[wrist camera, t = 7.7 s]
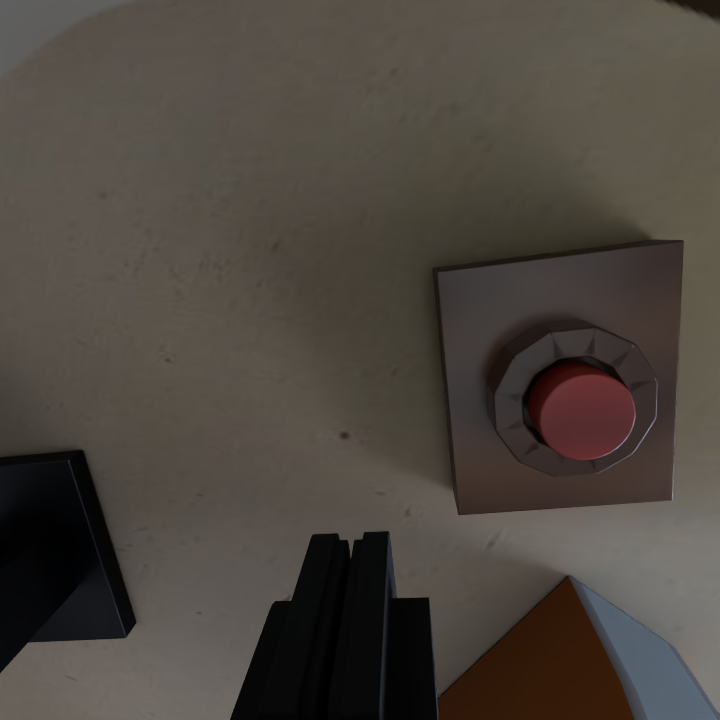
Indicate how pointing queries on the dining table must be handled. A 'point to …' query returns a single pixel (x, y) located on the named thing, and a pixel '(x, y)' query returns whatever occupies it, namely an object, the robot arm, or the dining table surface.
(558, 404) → the stop button
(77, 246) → the dining table surface
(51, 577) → the switch bracket
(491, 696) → the alarm clock
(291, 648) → the robot arm
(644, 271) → the block
